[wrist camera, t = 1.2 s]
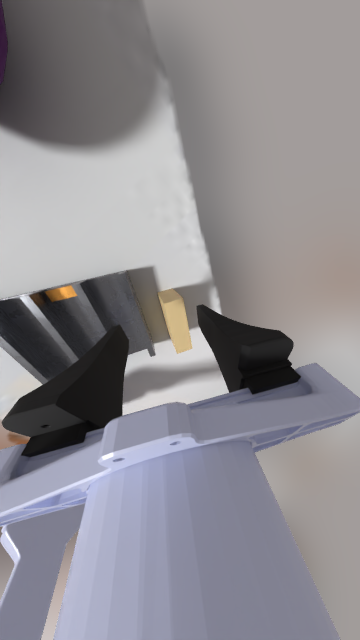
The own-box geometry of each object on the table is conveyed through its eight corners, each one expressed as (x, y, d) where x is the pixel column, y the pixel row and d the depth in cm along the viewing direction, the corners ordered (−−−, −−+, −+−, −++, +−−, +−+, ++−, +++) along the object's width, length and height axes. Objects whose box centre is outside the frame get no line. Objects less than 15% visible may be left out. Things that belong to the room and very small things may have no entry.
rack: (153, 343, 30) (155, 355, 26) (62, 374, 26) (51, 391, 23) (126, 270, 22) (124, 272, 18) (-7, 300, 19) (-40, 310, 15)
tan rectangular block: (181, 330, 30) (192, 348, 24) (169, 334, 30) (177, 353, 24) (172, 288, 25) (183, 298, 19) (157, 292, 25) (163, 303, 19)
